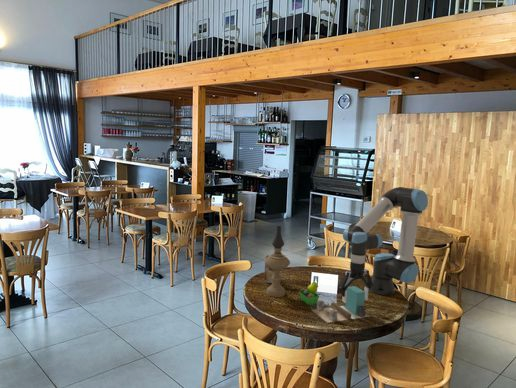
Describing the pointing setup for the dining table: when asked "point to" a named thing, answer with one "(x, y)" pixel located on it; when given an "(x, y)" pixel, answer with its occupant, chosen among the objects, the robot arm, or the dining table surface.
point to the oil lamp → (277, 265)
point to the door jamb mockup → (337, 312)
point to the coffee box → (268, 273)
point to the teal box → (354, 299)
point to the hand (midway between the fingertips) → (354, 300)
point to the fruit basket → (310, 294)
